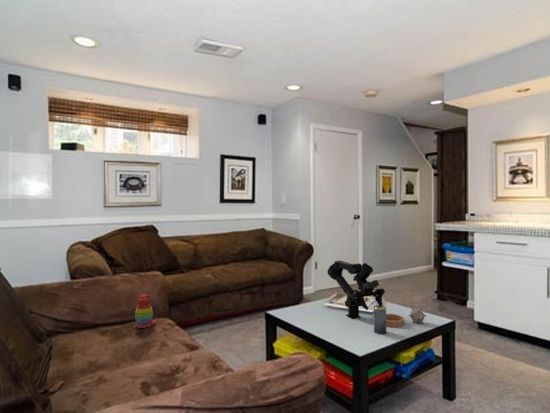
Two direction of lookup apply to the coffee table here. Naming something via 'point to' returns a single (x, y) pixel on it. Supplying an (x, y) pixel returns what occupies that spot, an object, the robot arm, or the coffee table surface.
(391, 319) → the bowl
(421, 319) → the grey spiky ball
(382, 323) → the canister
